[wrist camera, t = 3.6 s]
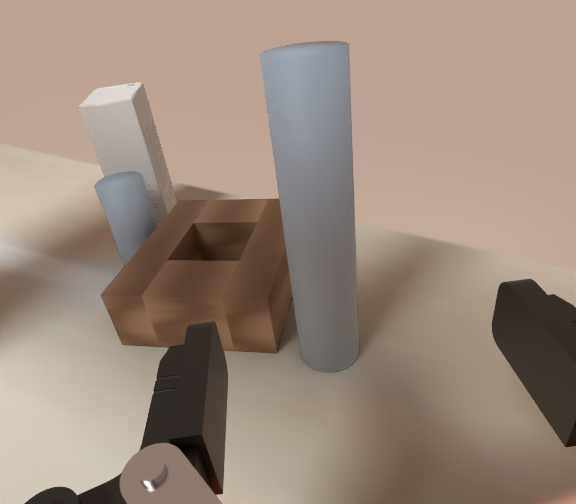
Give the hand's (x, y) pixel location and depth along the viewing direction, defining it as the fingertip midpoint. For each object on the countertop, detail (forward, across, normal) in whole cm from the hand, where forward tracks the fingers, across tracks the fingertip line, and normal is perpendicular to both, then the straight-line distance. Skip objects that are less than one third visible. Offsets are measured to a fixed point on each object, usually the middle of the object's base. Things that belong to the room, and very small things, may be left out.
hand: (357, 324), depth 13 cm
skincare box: (+28, +14, +10) cm, 33 cm away
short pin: (+22, +13, +10) cm, 27 cm away
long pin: (+9, 0, +10) cm, 13 cm away
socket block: (+16, +6, +10) cm, 20 cm away
